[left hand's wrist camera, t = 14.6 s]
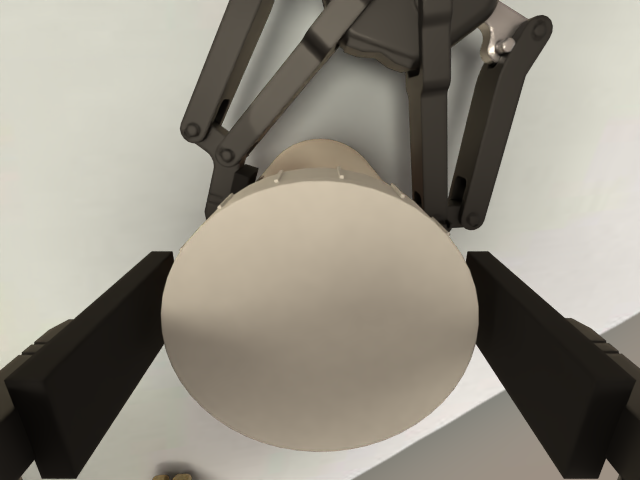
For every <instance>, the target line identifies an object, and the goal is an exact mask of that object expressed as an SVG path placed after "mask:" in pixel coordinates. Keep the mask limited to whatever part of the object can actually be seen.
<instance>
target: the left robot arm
mask: <svg viewBox="0 0 640 480" xmlns="http://www.w3.org/2000/svg"><path fill="white" fill-rule="evenodd" d="M173 263H174V258H173V252H172V251H152V252H151V253H149V254H148V255H147V256H146V257H145V258H144V259H142V260H141V261H140V262H139V263H138V264H137V265H136V266H134V267H133V268H132V269H131V270H130V271H129V272H128V273H126V274H125V275H124V276H123V277H122V278H121V279H119V280H118V281H117V282H116V283H115V284H114V285H113V286H111V287H110V288H109V289H108V290H107V291H106V292H105V293H103V294H102V295H101V296H100V297H99V298H98V299H96V300H95V301H94V302H93V303H92V304H91V305H90V306H88V307H87V308H86V309H85V310H84V311H83V312H82V313H80V314H79V315H78V316H77V317H76V318H75V319H69V320H67V321H65V322H63V323H61V324H59V325H57V326H55V327H54V328H52V329H50V330H48V331H47V332H46V333H45V334H44V335H42V336H41V337H40V338H39V339H37V340H36V341H35V342H34V345H30V346H29V347H28V348H27V349H25V350H24V351H23V352H22V355H18V356H17V357H16V358H15V359H13V360H12V361H11V362H10V363H9V364H7V365H6V366H5V367H4V368H3V369H1V370H0V480H23V479H22V477H21V476H22V474H23V473H24V472H25V471H26V469H27V468H28V467H29V466H30V464H31V463H32V462H33V461H34V460H35V462H36V465H37V467H38V470H39V473H40V475H41V478H42V479H76V478H77V477H78V475H79V473H80V472H81V470H82V469H83V467H84V466H85V464H86V463H87V461H88V460H89V458H90V457H91V455H92V454H93V452H94V450H95V449H96V447H97V446H98V444H99V443H100V441H101V440H102V438H103V437H104V435H105V434H106V432H107V431H108V429H109V428H110V426H111V424H112V423H113V421H114V420H115V418H116V417H117V415H118V414H119V412H120V411H121V409H122V408H123V406H124V405H125V403H126V401H127V400H128V398H129V397H130V395H131V394H132V392H133V391H134V389H135V388H136V386H137V385H138V383H139V382H140V380H141V379H142V377H143V375H144V374H145V372H146V371H147V369H148V368H149V366H150V365H151V363H152V362H153V360H154V359H155V357H156V356H157V354H158V352H159V351H160V349H161V348H162V346H163V345H164V339H163V335H162V324H161V308H162V297H163V292H164V289H165V285H166V281H167V277H168V275H169V273H170V270H171V268H172V266H173ZM466 264H467V266H468V268H469V270H470V273H471V276H472V279H473V282H474V285H475V288H476V294H477V300H478V306H479V326H478V332H477V339H476V345H477V346H478V348H479V349H480V351H481V352H482V354H483V356H484V357H485V359H486V360H487V362H488V363H489V365H490V366H491V368H492V369H493V371H494V372H495V374H496V375H497V377H498V379H499V380H500V382H501V383H502V385H503V386H504V388H505V389H506V391H507V392H508V394H509V395H510V397H511V398H512V400H513V401H514V403H515V404H516V406H517V408H518V409H519V411H520V412H521V414H522V415H523V417H524V418H525V420H526V421H527V423H528V424H529V426H530V428H531V429H532V431H533V432H534V434H535V435H536V437H537V438H538V440H539V441H540V443H541V444H542V446H543V447H544V449H545V450H546V452H547V454H548V455H549V457H550V458H551V460H552V461H553V463H554V464H555V466H556V467H557V469H558V470H559V472H560V473H561V475H562V476H563V478H564V479H598V478H599V475H600V472H601V470H602V467H603V465H604V462H605V460H606V459H607V460H608V461H609V462H610V464H611V465H612V466H613V467H614V469H615V470H616V471H617V472H618V474H619V477H618V479H617V480H640V368H639V367H637V366H636V365H635V364H634V363H632V362H631V361H630V360H629V359H628V358H626V357H625V356H624V355H623V354H619V351H618V350H617V349H615V348H614V347H613V346H612V345H611V344H609V343H606V340H605V339H603V338H602V337H601V336H600V335H598V334H597V333H596V332H595V331H594V330H592V329H591V328H589V327H587V326H585V325H584V324H582V323H580V322H578V321H576V320H574V319H572V318H564V317H563V316H562V315H561V314H560V313H558V312H557V311H556V310H555V309H554V308H553V307H552V306H550V305H549V304H548V303H547V302H546V301H545V300H544V299H542V298H541V297H540V296H539V295H538V294H537V293H535V292H534V291H533V290H532V289H531V288H530V287H529V286H527V285H526V284H525V283H524V282H523V281H522V280H521V279H519V278H518V277H517V276H516V275H515V274H514V273H512V272H511V271H510V270H509V269H508V268H507V267H506V266H504V265H503V264H502V263H501V262H500V261H499V260H498V259H496V258H495V257H494V256H493V255H492V254H491V253H489V252H488V251H468V252H467V258H466Z"/></svg>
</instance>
